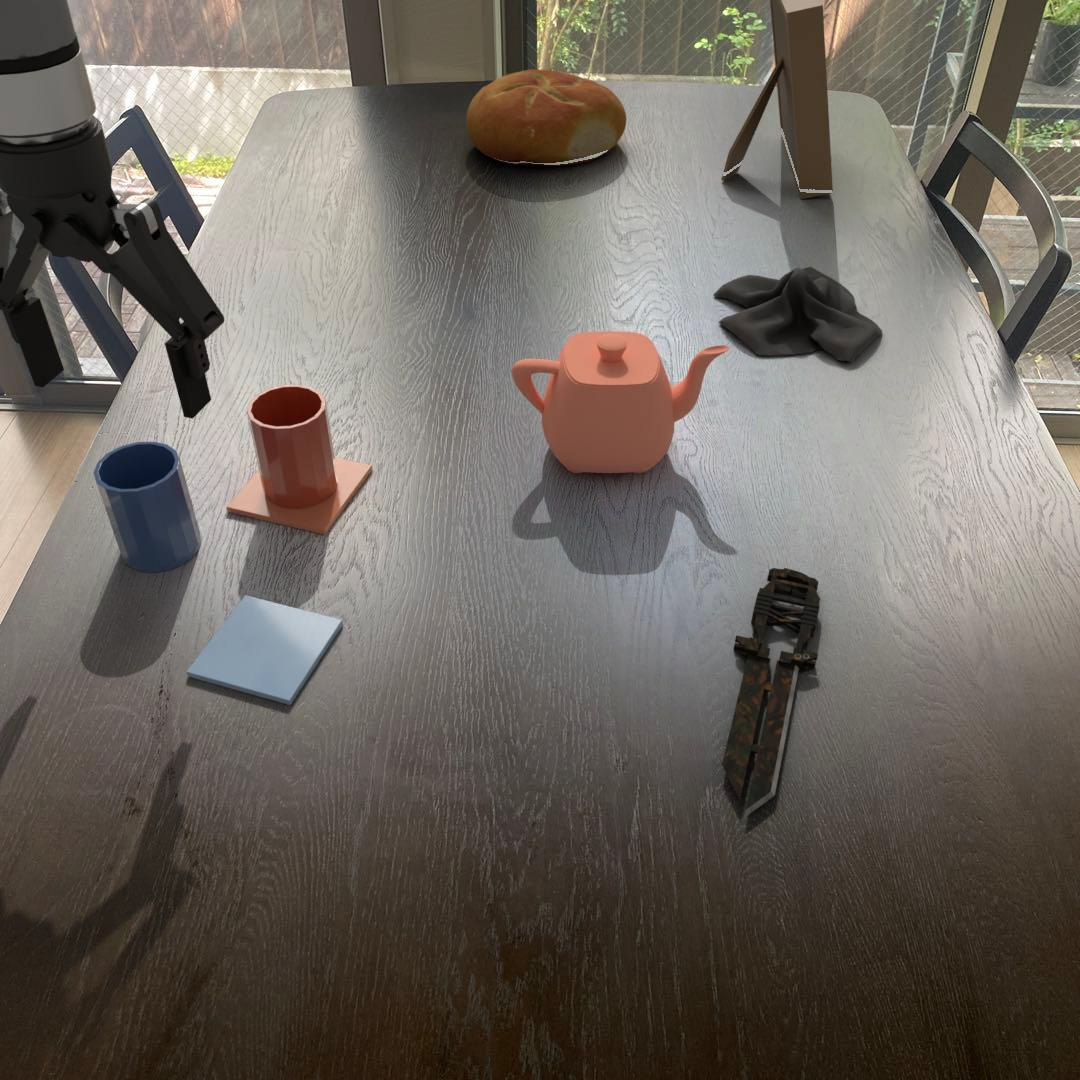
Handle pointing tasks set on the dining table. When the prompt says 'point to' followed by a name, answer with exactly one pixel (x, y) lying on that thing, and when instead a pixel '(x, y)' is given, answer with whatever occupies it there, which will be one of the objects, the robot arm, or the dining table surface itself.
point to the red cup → (293, 445)
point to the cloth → (797, 315)
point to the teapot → (611, 400)
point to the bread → (544, 118)
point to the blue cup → (148, 506)
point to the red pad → (310, 518)
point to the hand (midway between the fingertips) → (122, 393)
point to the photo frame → (796, 95)
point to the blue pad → (266, 649)
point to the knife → (769, 685)
